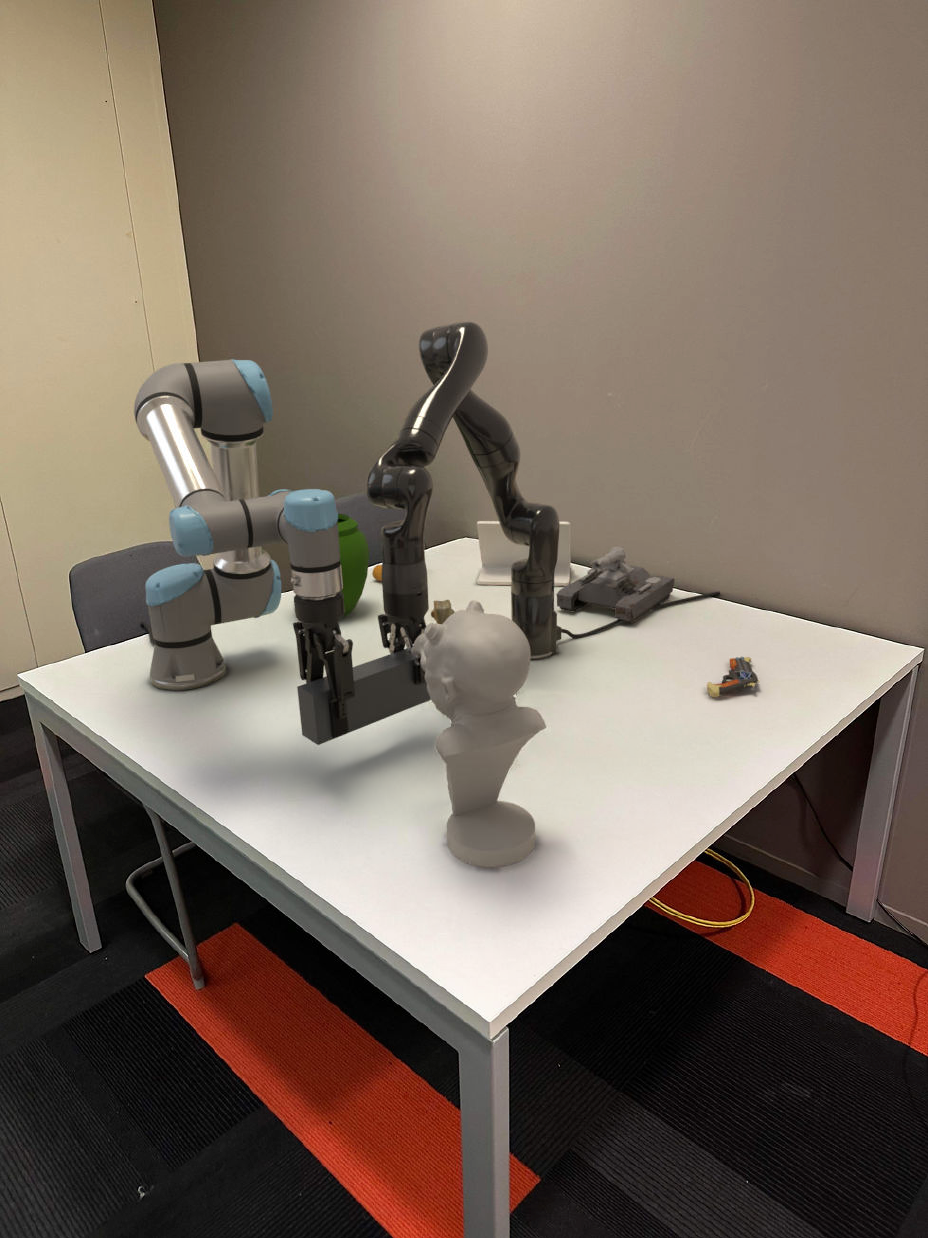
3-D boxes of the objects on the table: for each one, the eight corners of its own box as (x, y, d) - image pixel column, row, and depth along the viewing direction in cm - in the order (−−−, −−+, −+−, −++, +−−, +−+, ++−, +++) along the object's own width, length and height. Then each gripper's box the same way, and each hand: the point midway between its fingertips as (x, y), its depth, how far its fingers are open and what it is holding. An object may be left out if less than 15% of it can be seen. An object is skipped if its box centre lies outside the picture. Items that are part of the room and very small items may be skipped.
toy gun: (708, 687, 162) (763, 684, 160) (700, 655, 180) (750, 652, 178) (709, 701, 163) (764, 698, 161) (701, 667, 181) (750, 664, 179)
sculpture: (458, 662, 183) (456, 596, 178) (460, 676, 176) (457, 608, 171) (431, 663, 183) (428, 597, 177) (431, 677, 176) (428, 609, 171)
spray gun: (392, 568, 251) (438, 575, 245) (363, 581, 236) (410, 589, 230) (392, 554, 249) (438, 561, 243) (362, 567, 235) (411, 574, 229)
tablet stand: (569, 585, 229) (570, 524, 223) (476, 584, 232) (475, 523, 226) (570, 566, 246) (571, 508, 240) (484, 564, 249) (483, 507, 243)
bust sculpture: (481, 772, 140) (476, 569, 128) (565, 848, 120) (569, 617, 108) (392, 800, 134) (378, 588, 121) (465, 886, 114) (457, 642, 101)
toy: (603, 584, 229) (605, 530, 224) (673, 597, 218) (677, 540, 213) (555, 612, 210) (556, 553, 205) (630, 627, 199) (633, 566, 194)
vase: (389, 608, 216) (383, 514, 208) (339, 633, 201) (330, 533, 192) (330, 596, 226) (322, 506, 218) (278, 619, 211) (267, 523, 202)
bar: (420, 689, 153) (418, 644, 150) (437, 697, 149) (435, 651, 146) (302, 735, 138) (296, 686, 135) (317, 745, 134) (313, 695, 131)
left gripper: (267, 585, 134) (282, 718, 142) (329, 613, 121) (342, 756, 130) (308, 574, 139) (320, 703, 147) (372, 600, 126) (382, 740, 134)
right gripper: (361, 580, 144) (368, 672, 150) (414, 600, 134) (419, 698, 140) (396, 571, 148) (402, 660, 154) (450, 589, 138) (453, 684, 144)
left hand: (330, 728), depth 138 cm, fingers closed on bar, 5 cm apart
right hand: (410, 677), depth 147 cm, fingers open, 5 cm apart
